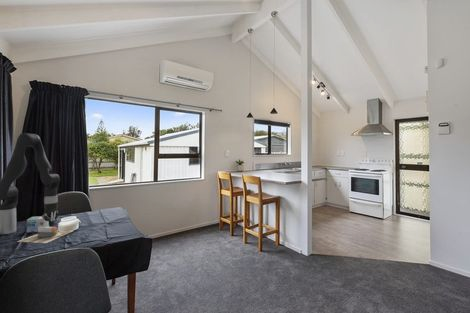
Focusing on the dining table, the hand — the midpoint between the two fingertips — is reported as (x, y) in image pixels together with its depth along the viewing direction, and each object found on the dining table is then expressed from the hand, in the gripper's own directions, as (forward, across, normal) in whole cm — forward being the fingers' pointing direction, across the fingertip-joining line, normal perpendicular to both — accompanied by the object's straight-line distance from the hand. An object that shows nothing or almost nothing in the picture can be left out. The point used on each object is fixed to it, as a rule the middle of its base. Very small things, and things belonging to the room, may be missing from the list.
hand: (51, 226), depth 159 cm
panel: (+6, +7, +4) cm, 10 cm away
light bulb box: (+6, -2, -12) cm, 14 cm away
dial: (+4, +7, +4) cm, 9 cm away
